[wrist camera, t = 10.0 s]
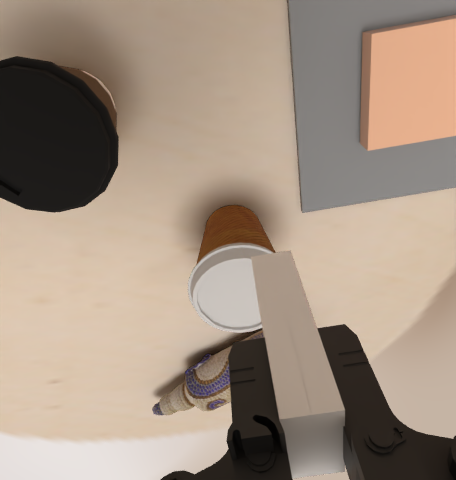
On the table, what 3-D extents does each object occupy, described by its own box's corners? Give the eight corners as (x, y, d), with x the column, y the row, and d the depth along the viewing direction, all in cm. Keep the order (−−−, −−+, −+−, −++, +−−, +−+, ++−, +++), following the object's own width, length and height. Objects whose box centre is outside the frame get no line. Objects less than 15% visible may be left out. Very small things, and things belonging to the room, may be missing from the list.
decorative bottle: (287, 300, 51) (298, 338, 45) (314, 333, 54) (327, 372, 49) (138, 379, 57) (131, 421, 52) (170, 404, 61) (167, 445, 55)
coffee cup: (98, 182, 40) (62, 243, 30) (-2, 109, 36) (-84, 153, 26) (163, 102, 36) (147, 142, 26) (59, 10, 32) (-8, 16, 22)
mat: (283, -54, 31) (285, -54, 30) (513, -98, 30) (519, -100, 29) (301, 210, 43) (302, 212, 43) (463, 183, 43) (466, 185, 42)
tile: (371, 34, 31) (483, 13, 31) (361, 31, 34) (465, 12, 33) (367, 150, 37) (463, 134, 36) (358, 142, 39) (448, 127, 38)
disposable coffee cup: (290, 216, 44) (316, 282, 34) (244, 274, 48) (254, 348, 38) (219, 176, 41) (224, 234, 31) (176, 241, 45) (167, 312, 35)
